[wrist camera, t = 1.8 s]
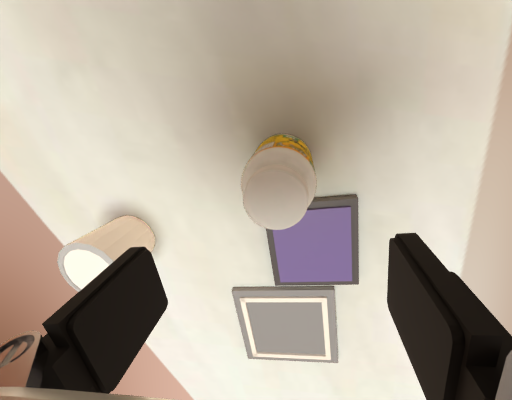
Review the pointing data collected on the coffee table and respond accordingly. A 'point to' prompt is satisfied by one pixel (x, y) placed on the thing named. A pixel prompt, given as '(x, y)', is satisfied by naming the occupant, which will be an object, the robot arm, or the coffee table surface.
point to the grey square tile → (288, 322)
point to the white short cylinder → (102, 249)
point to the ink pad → (318, 245)
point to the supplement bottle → (279, 182)
